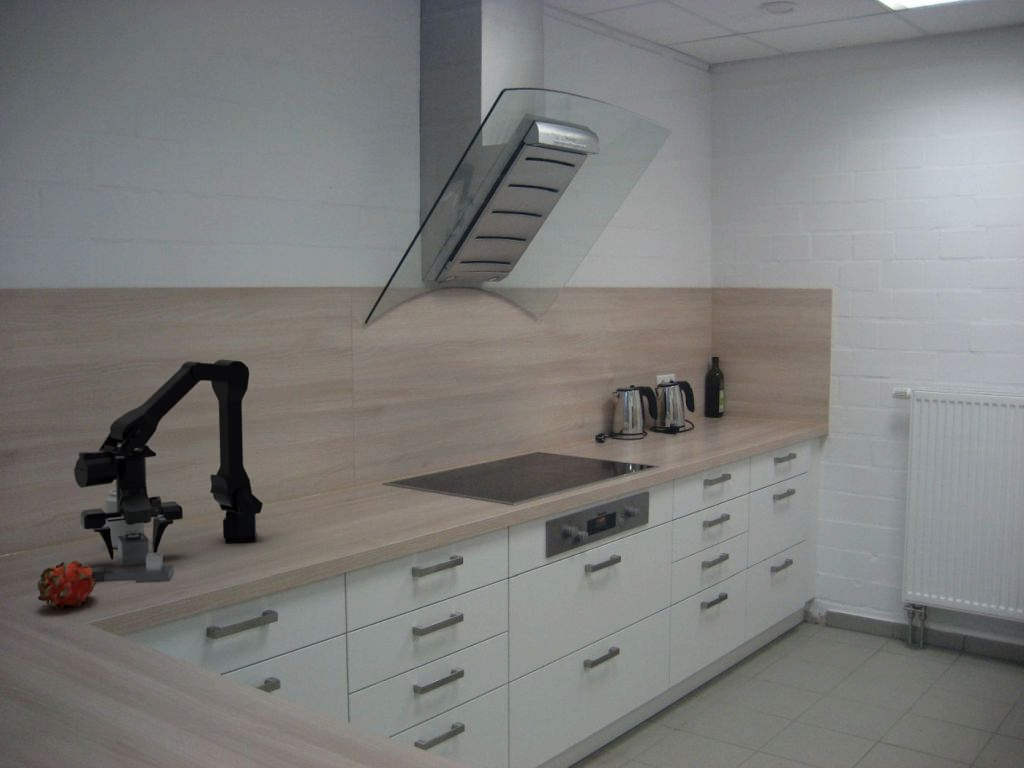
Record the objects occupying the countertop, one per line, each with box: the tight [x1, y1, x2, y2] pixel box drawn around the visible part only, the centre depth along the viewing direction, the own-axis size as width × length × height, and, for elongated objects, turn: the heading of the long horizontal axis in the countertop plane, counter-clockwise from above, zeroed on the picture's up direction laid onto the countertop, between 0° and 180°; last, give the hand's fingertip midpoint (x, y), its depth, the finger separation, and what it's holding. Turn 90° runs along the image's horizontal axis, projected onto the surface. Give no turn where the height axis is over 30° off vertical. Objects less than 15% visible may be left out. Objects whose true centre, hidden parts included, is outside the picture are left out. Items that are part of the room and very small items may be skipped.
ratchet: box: [90, 552, 175, 583], centre depth 191 cm, size 20×6×4 cm, turn 100°
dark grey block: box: [117, 531, 150, 567], centre depth 203 cm, size 5×5×6 cm
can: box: [105, 488, 145, 549], centre depth 216 cm, size 8×8×12 cm
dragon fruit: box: [37, 560, 98, 610], centre depth 176 cm, size 8×8×12 cm
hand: (133, 556), depth 203 cm, fingers open, 8 cm apart
